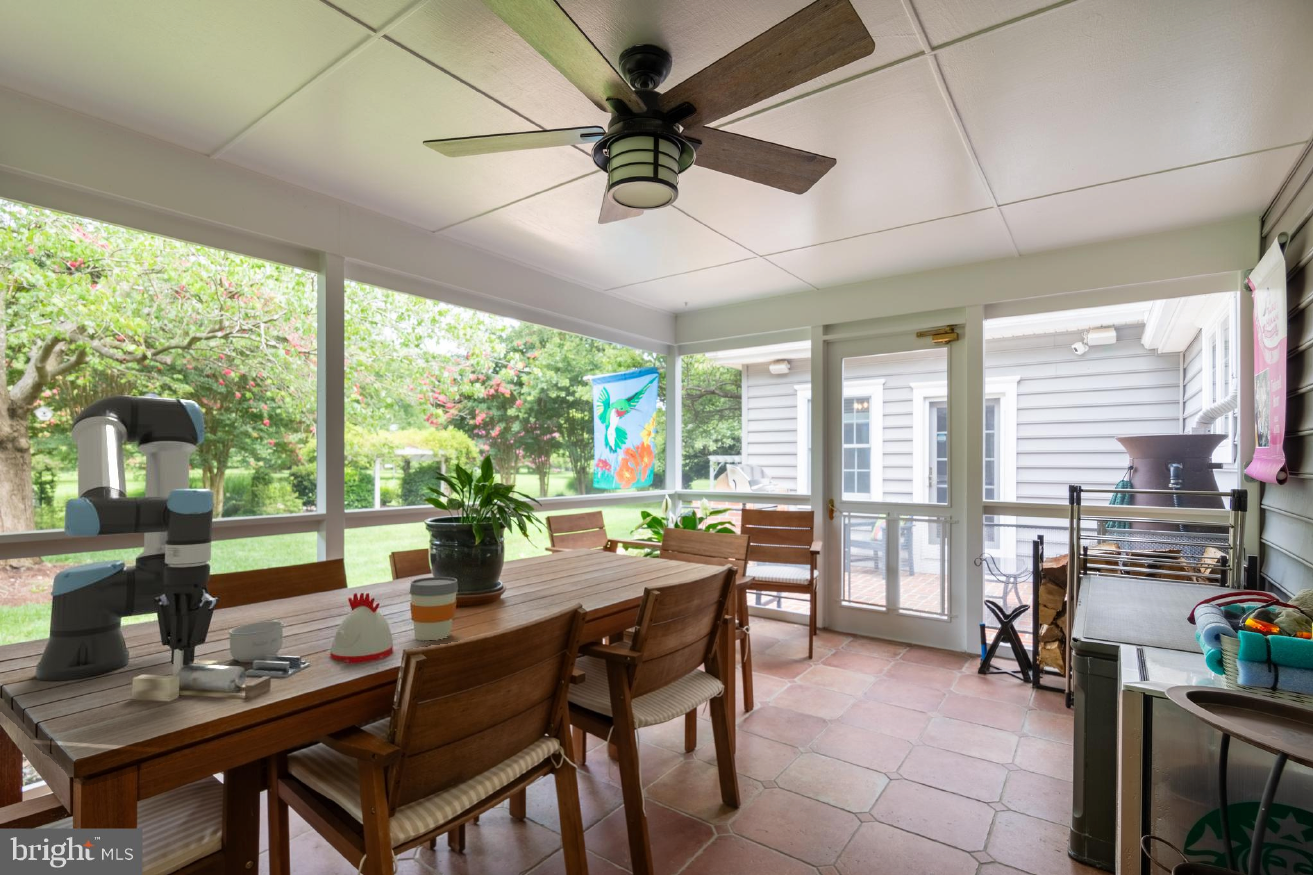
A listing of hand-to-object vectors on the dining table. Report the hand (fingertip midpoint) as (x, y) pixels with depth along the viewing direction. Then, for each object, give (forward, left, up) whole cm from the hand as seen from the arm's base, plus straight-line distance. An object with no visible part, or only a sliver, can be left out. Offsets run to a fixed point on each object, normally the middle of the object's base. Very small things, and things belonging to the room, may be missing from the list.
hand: (181, 680), depth 123 cm
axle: (+6, 0, -2) cm, 6 cm away
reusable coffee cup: (+32, +45, -3) cm, 55 cm away
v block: (+11, +13, -2) cm, 17 cm away
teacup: (0, +22, -3) cm, 22 cm away
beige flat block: (+6, 0, -2) cm, 6 cm away
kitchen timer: (+22, +28, -3) cm, 36 cm away
